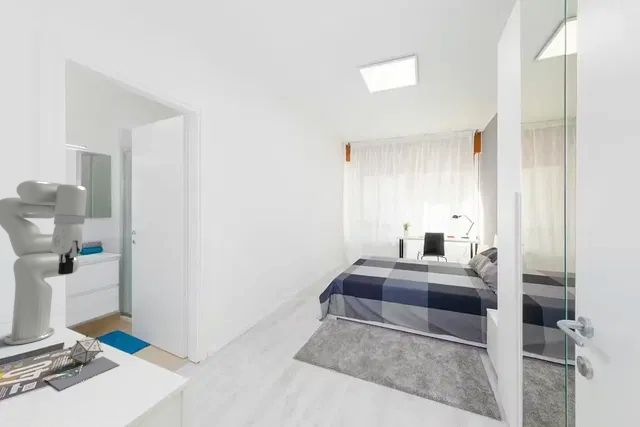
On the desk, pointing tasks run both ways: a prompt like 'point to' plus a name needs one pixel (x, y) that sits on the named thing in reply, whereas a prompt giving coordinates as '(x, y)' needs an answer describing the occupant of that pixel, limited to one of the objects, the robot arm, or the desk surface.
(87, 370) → the charcoal mat
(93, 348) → the game die
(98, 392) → the desk surface
